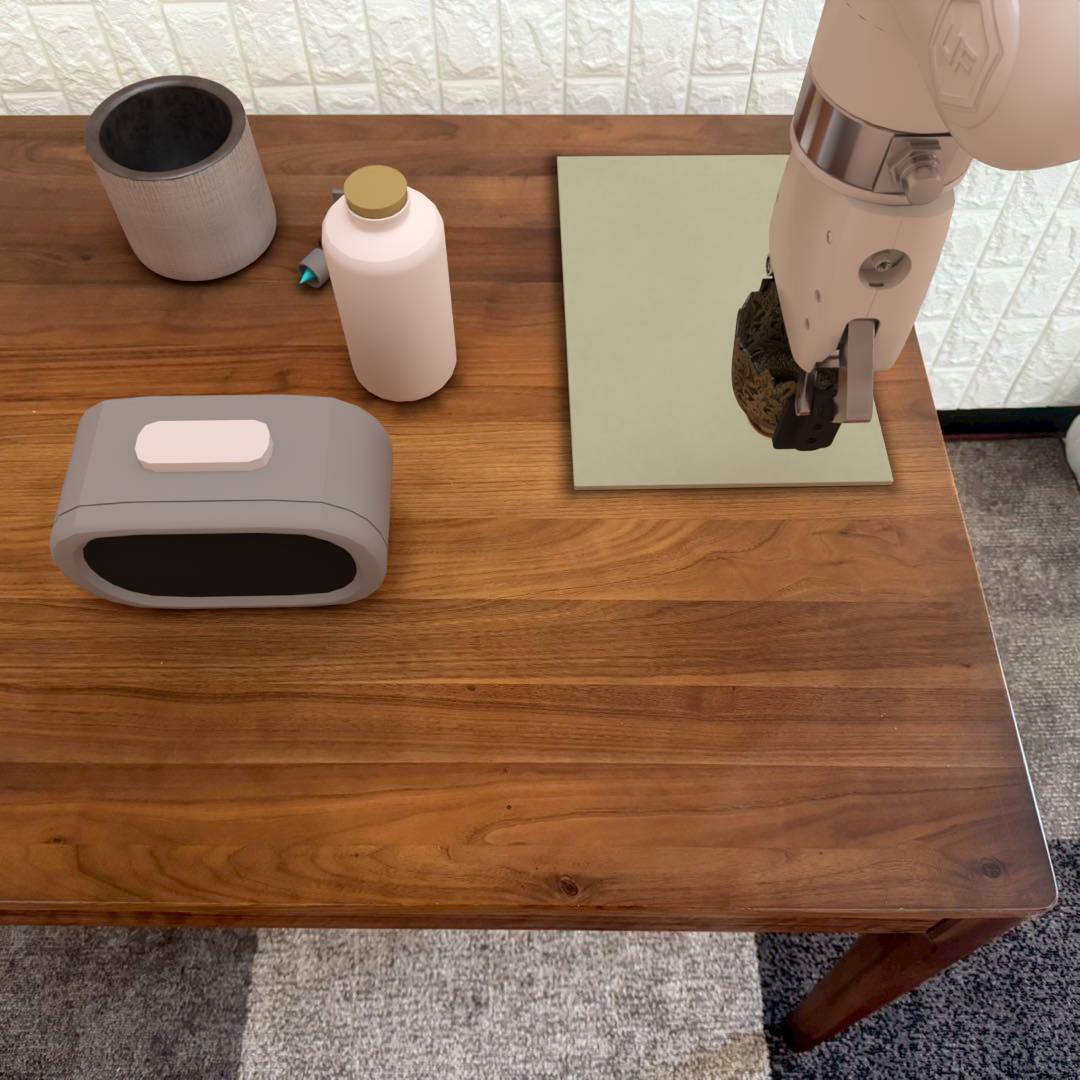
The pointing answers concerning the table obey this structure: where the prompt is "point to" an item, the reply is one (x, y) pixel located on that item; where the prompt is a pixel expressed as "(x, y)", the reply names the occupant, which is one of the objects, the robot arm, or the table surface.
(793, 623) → the table surface
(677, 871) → the table surface
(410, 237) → the potion bottle
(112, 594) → the alarm clock
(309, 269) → the toy gun
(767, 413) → the brown jagged-rimmed vessel
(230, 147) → the planter
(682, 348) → the mat
